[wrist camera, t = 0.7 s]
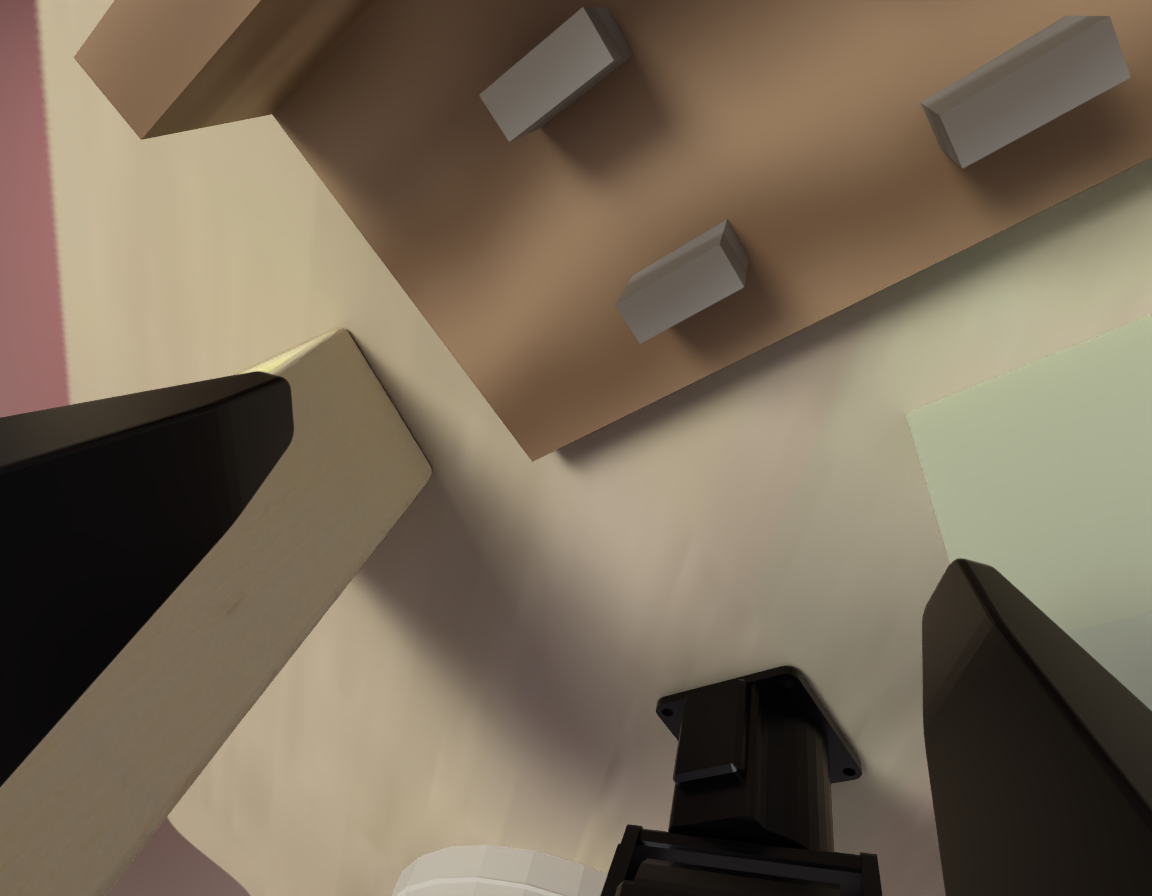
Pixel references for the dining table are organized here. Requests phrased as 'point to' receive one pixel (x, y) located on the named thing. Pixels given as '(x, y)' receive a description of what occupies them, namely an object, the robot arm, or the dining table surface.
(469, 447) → the dining table surface
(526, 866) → the dish
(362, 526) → the toy refrigerator
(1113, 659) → the door panel
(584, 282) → the cabinet base
